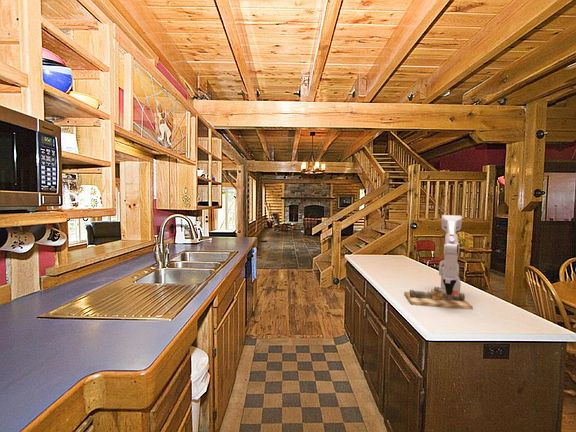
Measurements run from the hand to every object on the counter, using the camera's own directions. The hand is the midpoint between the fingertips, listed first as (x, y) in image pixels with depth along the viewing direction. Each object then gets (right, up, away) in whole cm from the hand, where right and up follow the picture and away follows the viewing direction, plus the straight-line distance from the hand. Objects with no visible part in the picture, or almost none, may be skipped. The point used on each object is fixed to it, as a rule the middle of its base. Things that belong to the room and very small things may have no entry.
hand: (448, 294), depth 148 cm
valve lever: (0, +1, +3) cm, 3 cm away
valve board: (-3, -5, +6) cm, 9 cm away
